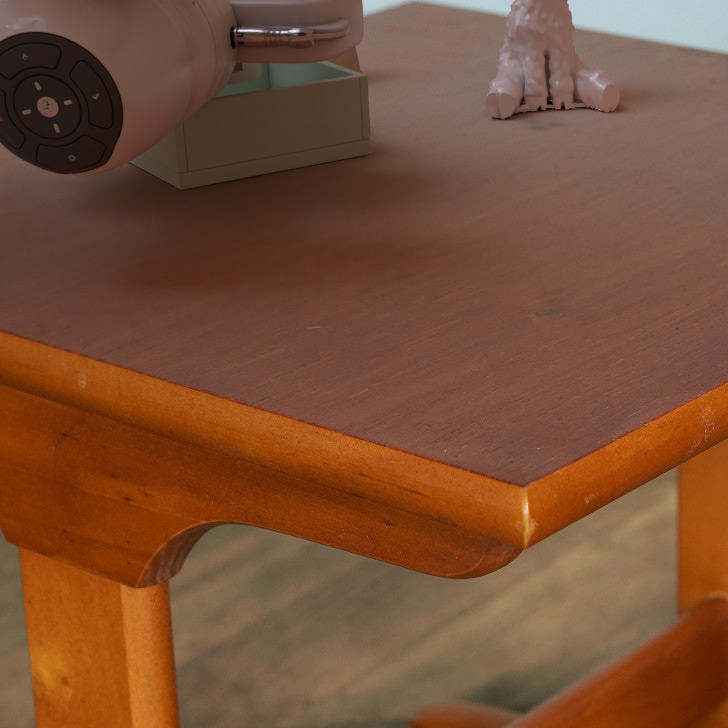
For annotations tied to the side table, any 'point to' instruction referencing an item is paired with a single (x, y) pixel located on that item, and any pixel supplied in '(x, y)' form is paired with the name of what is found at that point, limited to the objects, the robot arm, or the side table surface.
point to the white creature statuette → (545, 64)
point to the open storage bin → (267, 127)
